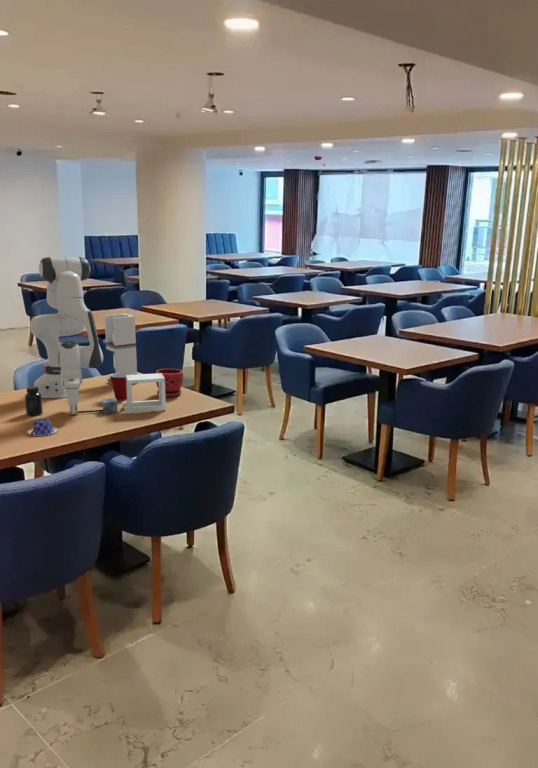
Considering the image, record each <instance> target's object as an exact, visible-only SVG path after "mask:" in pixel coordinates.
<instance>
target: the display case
mask: <svg viewBox="0 0 538 768" xmlns="http://www.w3.org/2000/svg"><path fill="white" fill-rule="evenodd" d="M104 330H105V331H104V333H105V348H106V350H108V351H111V352H112V353H113V355H112V356H113V369H114V370H115V373H129V374H133V375H138V362H137V337H136V316H135V315H132V314H128V313H117V314H107V315H104ZM108 382H109V383H108ZM107 383H108V384H110V383H111V384H110V385H112V381H111V378H110V377H109V378H107ZM137 384H138V383H133V384H132V385H137Z"/></svg>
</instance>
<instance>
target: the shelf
mask: <svg viewBox="0 0 538 768" xmlns="http://www.w3.org/2000/svg"><path fill="white" fill-rule="evenodd" d="M156 382H159V389H158V390H159V394H158V399H153V400H150V399H149V400H139V401H133V387H132V386H133V385H134V384H133V383H137V384H145V383H156ZM126 389H127V399H126V401H123V402H122V409H124V414H126V415H128V414H141V413H142V412H143V413H151V412H150V411H156V412H163V411H162V410H167V408H166V407H167V406H166V397H165V378H164V376H163V375H162V373H156V372H155V373H144V374H143V373H141V374H140V373H138V374H137V375H126ZM143 413H142V414H143Z"/></svg>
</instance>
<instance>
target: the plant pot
mask: <svg viewBox="0 0 538 768" xmlns="http://www.w3.org/2000/svg"><path fill="white" fill-rule="evenodd" d="M156 373H162V375H163V376H164V378H165V398H168V397H169V398H173V396H174V397H178V396H179V395H181V394H182V390H181V388H182V386H183V382H184V381H183V380H184V371H183V370H182V369H179V368H178V369H176V368H160V369H158V370H156V371H155V374H156ZM155 384H156V387H157V391H156V392H157V394H158V395H159V382H155Z"/></svg>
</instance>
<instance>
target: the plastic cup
mask: <svg viewBox="0 0 538 768" xmlns="http://www.w3.org/2000/svg"><path fill="white" fill-rule="evenodd" d="M126 375H133V374H129V373H116V372H115V373H110V374H109V375H108V376H109V379H110V378H111V381H112V384H111V386H112V390H113V394H114V398H116V400H117V399H118V400H117V401H124V399H126V400H127V389H126Z"/></svg>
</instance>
